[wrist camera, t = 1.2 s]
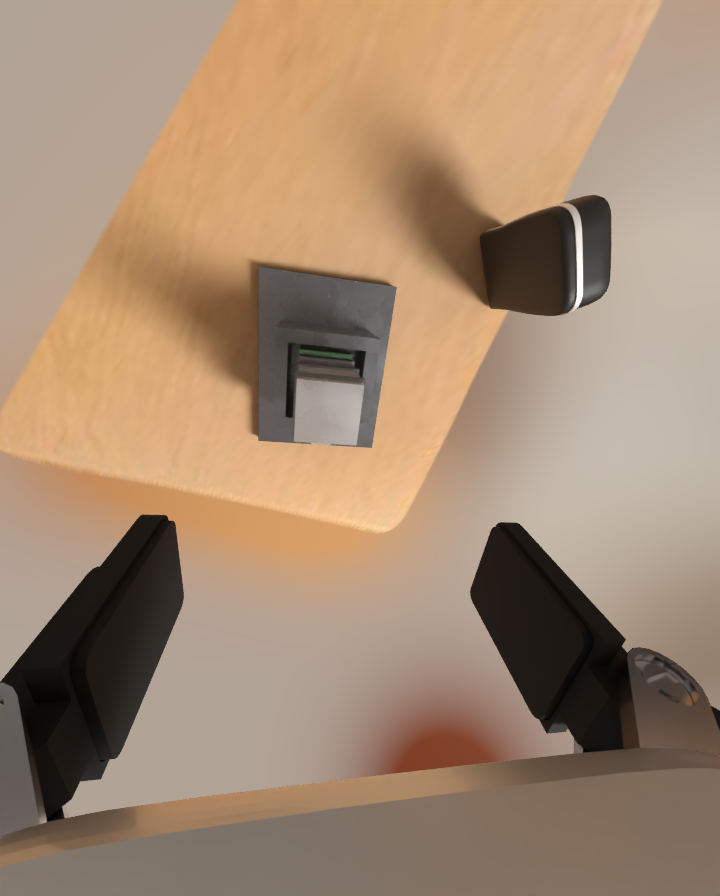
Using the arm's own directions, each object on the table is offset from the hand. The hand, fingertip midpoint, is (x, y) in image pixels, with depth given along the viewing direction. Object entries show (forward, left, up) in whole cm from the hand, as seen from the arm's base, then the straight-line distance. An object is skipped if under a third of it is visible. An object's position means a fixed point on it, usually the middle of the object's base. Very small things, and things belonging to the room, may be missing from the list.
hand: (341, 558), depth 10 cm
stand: (0, 0, -26) cm, 26 cm away
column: (0, 0, -25) cm, 25 cm away
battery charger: (-11, +16, -26) cm, 33 cm away
